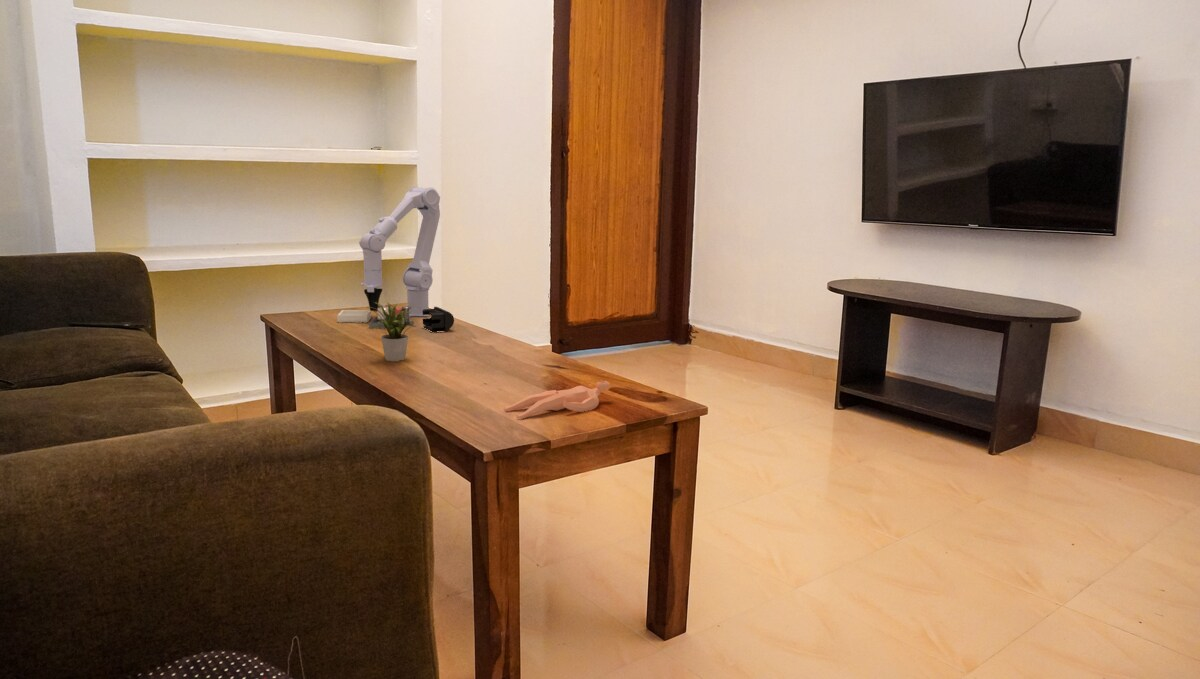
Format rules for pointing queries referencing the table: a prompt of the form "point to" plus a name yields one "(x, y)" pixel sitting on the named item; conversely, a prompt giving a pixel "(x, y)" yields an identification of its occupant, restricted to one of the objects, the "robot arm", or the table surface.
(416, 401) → the table surface
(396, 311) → the bar
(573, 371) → the table surface
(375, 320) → the grey flat square ring
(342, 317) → the tray
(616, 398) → the table surface
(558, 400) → the male figurine
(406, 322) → the keeper post
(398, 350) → the house plant
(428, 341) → the table surface
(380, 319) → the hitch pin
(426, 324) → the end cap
